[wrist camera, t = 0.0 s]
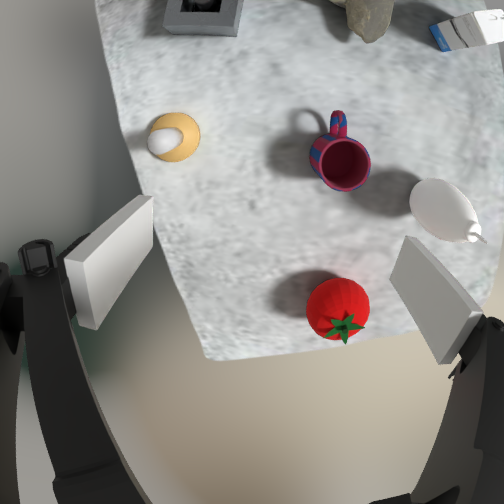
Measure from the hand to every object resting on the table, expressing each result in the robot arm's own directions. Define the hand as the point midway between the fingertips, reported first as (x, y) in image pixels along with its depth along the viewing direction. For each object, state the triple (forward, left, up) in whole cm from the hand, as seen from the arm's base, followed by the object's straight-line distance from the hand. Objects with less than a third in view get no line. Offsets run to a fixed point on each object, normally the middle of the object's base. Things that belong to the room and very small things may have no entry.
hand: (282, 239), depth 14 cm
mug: (-3, +9, -28) cm, 30 cm away
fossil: (-26, +8, -28) cm, 39 cm away
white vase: (+1, +25, -28) cm, 37 cm away
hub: (-1, -13, -28) cm, 31 cm away
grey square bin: (-21, -11, -28) cm, 37 cm away
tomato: (+21, +15, -28) cm, 38 cm away
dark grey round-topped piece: (-21, -11, -28) cm, 37 cm away
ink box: (-28, +26, -28) cm, 47 cm away
